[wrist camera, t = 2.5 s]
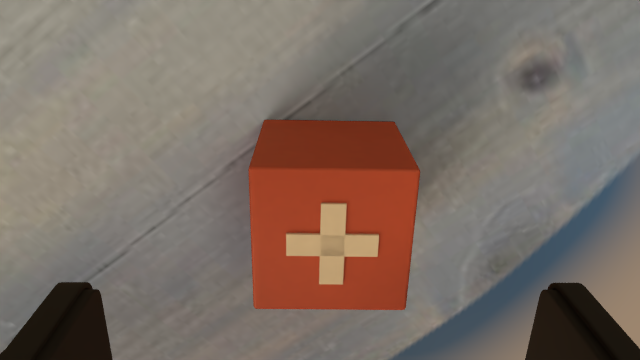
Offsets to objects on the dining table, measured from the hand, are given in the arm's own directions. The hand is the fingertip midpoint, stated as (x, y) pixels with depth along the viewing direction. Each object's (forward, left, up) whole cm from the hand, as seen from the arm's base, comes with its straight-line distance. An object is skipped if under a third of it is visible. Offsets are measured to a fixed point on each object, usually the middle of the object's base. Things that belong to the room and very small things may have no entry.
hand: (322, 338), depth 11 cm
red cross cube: (0, 0, -8) cm, 8 cm away
